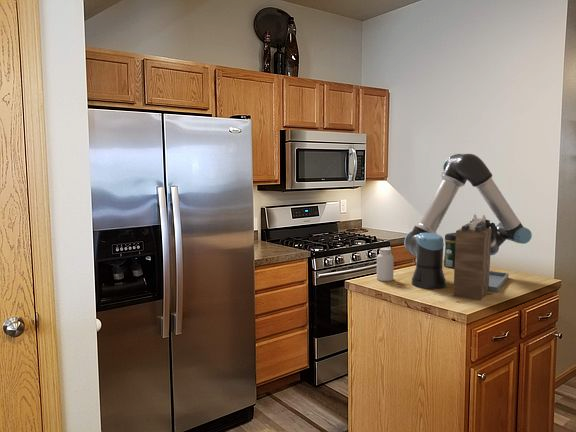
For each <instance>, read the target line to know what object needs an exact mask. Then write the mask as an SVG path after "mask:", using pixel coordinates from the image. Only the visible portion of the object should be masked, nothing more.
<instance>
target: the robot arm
mask: <svg viewBox="0 0 576 432" xmlns="http://www.w3.org/2000/svg"><path fill="white" fill-rule="evenodd" d="M442 166H443V167H442V168H443V172H442V174H441V175H440V176H441V182H440V184H439V186H438V188H437V190H436V192H435V193H434V196H433V197H432V199H431V201H430V203H429V205H428V207H427V209H426V210H425V213H424V215H423V217H422V219H421V220H420V222H419V223H418V224H415V225H414V227H413V229H412V230H411V231H409V232H408V233H407V234H406V235H405V237H404V241H403V244H404V245H403V246H404V247H405V250H406V251H407V252H408V253H409V254H410V255H412V256H415V258H416V260H415V264H416V265H415V269H414V272H413V274H412V277H411V285H413V286H415V287H417V288H421V289H429V290H430V289H431V290H433V289H435V290H439V289H444V288H446V286H447V284H446V283H447V281H446V278H445V273H444V270H443V266H444V246H445V242H444V237H443V235H440V234H438V233H437V230H438V229H439V227H440V224H441V223H442V221H443V219H444V217H445V215H446V214H447V212H448V209H449V208H450V206H451V204H452V203H453V200H454V199H455V197H456V195H457V193H458V191H459V190H460V189H461V188H462V187H465V184H466V183H467V182H469V183H470V184H471V185H472V187H473V188H476V189H477V190H478V192H479V194H480V195H481V196H482V198H483V200H484V201H485V203H486V204H487V205H488V207H489V208H490V210H491V211H492V212H493V214H494V215H495V217H496V219H497V220H498V224H496V223H494V222H491V220H489V219H487V218H486V215H485V214H483V215H482V218H481V219H482V222H483V223H487V225H486V228H492V234H491V252H490V256H494V255H497V253H498V252H499V249H500V247H501V245H503V244H504V242H505V241H506V240H508V241H511V242H514V243H516V244H522V245H523V244H527V243H529V242H530V241H531V239H532V238H533V237H532V235H533V233H532V232H531V229H529V228H528V227H525V226H524V225H523V224H522V222H521V220H520V219H519V217H518V216H517V214H516V213H515V212H514V210H513V209H512V207H511V206H510V204H509V203H508V201H507V200H506V198H505V196H504V194H502V192H501V190H500V188H499V187H498V186H497V184H496V183H495V181H494V179H493V174H492V172H491V171H490V169H489V168H488V167H487V165H486V163H485V162H484V161H483V160H482V158H480V157H479V156H477V155H476V154H473V153H455V154H453V155H450V156H449V157H447V158H446V159H445V161H444V162H443V165H442ZM477 219H478V217H477V214H473V217H472V220H470V221H469V223H470V222H472V221H475V220H477Z"/></svg>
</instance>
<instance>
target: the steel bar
mask: <svg viewBox="0 0 576 432" xmlns="http://www.w3.org/2000/svg"><path fill="white" fill-rule="evenodd" d="M471 221H472V220H471ZM468 223H469V229H468V230H470V231H475V227H477V226H478V225H480V224H482V223H483V222H482V218H477V220H475V221H472V222H470V221H469V222H468Z"/></svg>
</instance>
